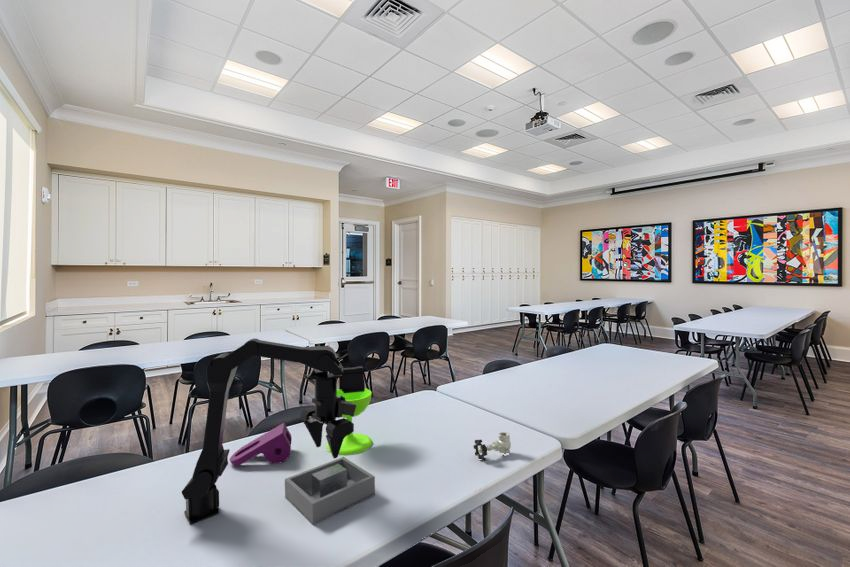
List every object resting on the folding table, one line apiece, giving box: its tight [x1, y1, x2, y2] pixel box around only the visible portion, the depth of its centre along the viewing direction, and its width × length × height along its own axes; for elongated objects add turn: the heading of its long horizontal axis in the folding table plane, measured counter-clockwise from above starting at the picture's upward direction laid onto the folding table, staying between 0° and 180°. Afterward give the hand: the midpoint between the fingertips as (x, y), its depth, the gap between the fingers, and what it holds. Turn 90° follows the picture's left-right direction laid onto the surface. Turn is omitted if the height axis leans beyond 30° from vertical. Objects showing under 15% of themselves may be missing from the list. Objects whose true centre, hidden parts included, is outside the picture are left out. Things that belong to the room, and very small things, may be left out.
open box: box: [284, 456, 376, 525], centre depth 103 cm, size 18×16×5 cm
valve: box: [473, 431, 512, 462], centre depth 124 cm, size 7×7×12 cm
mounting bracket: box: [229, 422, 293, 467], centre depth 125 cm, size 10×8×18 cm
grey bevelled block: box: [312, 464, 347, 500], centre depth 103 cm, size 8×4×6 cm, turn 133°
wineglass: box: [326, 388, 373, 456], centre depth 134 cm, size 16×16×18 cm
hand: (326, 452), depth 103 cm, fingers open, 9 cm apart
